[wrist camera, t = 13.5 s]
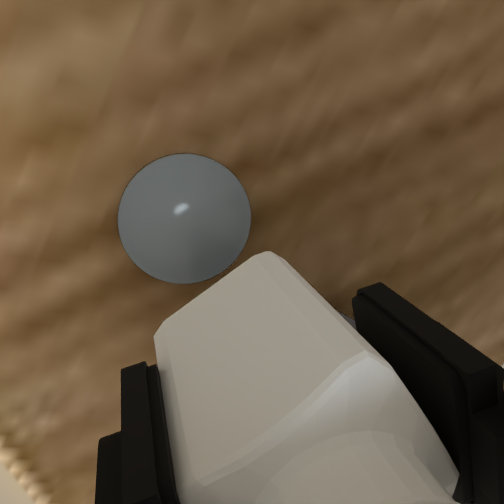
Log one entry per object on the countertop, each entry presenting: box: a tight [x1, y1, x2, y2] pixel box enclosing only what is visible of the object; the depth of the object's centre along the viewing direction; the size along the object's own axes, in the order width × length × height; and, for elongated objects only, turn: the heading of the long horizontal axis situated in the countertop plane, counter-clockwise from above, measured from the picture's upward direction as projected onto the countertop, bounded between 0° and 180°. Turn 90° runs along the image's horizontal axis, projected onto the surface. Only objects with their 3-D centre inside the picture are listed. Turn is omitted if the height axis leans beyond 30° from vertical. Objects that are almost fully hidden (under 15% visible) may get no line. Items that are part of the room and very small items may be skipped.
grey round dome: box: [118, 153, 251, 284], centre depth 26 cm, size 7×7×1 cm
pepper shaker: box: [154, 251, 460, 504], centre depth 9 cm, size 4×4×10 cm
